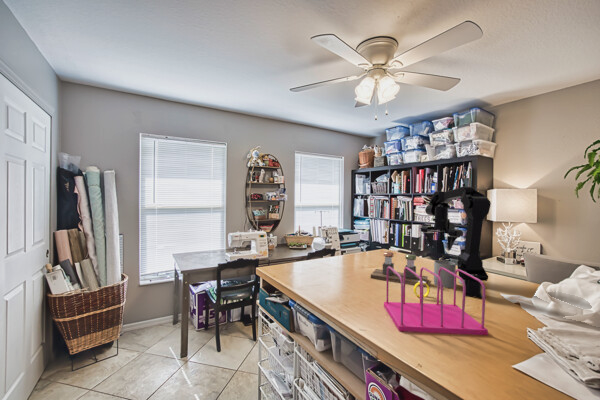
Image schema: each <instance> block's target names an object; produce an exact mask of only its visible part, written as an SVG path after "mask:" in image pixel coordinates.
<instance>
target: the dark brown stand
mask: <svg viewBox="0 0 600 400" xmlns="http://www.w3.org/2000/svg"><path fill="white" fill-rule="evenodd" d="M388 266H390V267H391V268H393V269H394V270H395V268H394V267H395V264H394V263H393V262H392V265H387V264H385V261H384V262H382V269H381V268H379V269H378V268H375V269H374V271H372V273H370V279H373V280H381V281H386V282H387V268H388ZM405 267H407V264H406V265H405V266H404V268H405ZM408 268H409V267H408ZM409 269H411V270H412V271H414V272H415V273H416V274H417V266H416V265H414V268H409ZM396 272H397V273H398V274H399V275H400V276H401V277H402V280H403V277H404V272H401V271H396ZM418 275H419V276H420V274H418ZM418 281H420V279H419V278H418V277H417V276H416V275H414V274H413V273H412V272H410V271H409V270H408V269H406V274H405V285H412V286H415V284H416V283H418ZM422 281H424V282H426V284H427V285H428V276H426V275H422ZM388 282H392V283H393V282H394V283H400V284H401V281H400V278H399V276H398V275H396V274H395V273H394V272H393V271H392V270H391V269H390V268H389V277H388ZM426 284H425V285H423V288H424V287H425V288H427V286H426ZM417 287H420V285H418V286H417Z"/></svg>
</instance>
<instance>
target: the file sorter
mask: <svg viewBox="0 0 600 400" xmlns="http://www.w3.org/2000/svg"><path fill="white" fill-rule="evenodd" d="M389 268H390V269H391V270H392V271H393V272H394V273H395V274H396V275H398V276H399V278H400V281H401V283H400V302H398V301H397V302H396V301H389V281H388V277H389ZM406 269H408V270H409V271H410V272H412V273H413V274H414V275H416V276H417V277H418V278H419V279H420V286H419V295H420V297H419V302H406V284H405V274H406ZM441 269H443V270H445V271H447V272H449V273H450V274H452V275H454V288H453V304H450V303H449V304H445V303H444V287H443V284H442V280H441V278H440V272H441ZM423 270H424V271H426V272H428V273H430V274H431V275H433V276H434V275H435V276H436V277H437V278H438V286H437V291H436V303H428V302H427V303H424V297H423V295H424V287H423V281H422V276H423ZM458 271H460V272H462V273H464V274H466V275H468V276H470V277H472V278H473V279H475V280H477V281H479V282H480V283H481V289H482V295H483V298H482V303H481V305H482V306H481V323H480V322H478V321H477V320H476V319H475V318H474V317H472V316H471V315H470V314H469V313H467V312H466V311H465V307H466V306H465V305H466V295H465V294H466V286H465V283H464V280H463V279H462V278H461V277H459V274H458ZM397 272H398V271H397V270H395V268H394V269H393V268H391V267H390V266H388V268H387V281H386V297H385V299H386V301H383V307H384V309H385V311H386V313H388V316H389V317H390V319H391V321H392V322H393V323H394V325H395V327H396V328H397V330H398V331H399V332H409V333H428V334H429V333H431V334H451V335H452V334H453V335H472V336H473V335H475V336H488V335H489V333H488V332H489V331H488V329H487V328H486V327H485V318H486V317H485V311H486V293H487V292H486V286H485V283H484V281H481V280H480V279H478V278H476V277H474V276H472V275H470V274H468V273H466V272H464V271H462V270H460V269H458V268H456V271H455V274H454V273H453V272H451V271H449V270H447V269H445V268H443V267H441V268H440V269H439V271H438V275H437V274H435V273H434V271H432V270H430V269H428V268H427V267H424V266H423V267H421V268H420V272H419V274H418V273H417V272H416V273H415V272H414V271H412V270H411V269H409V268H408V267H405V266H404V269H403V273H404V277H403V280H402V277H401V276H400V275H399V274H398V273H397ZM457 274H458V275H457ZM419 275H420V276H419ZM457 279H459V280H461V282H462V284H461V285H462V304H461V307H460V306H458V305H457V304H456V302H457V300H456V298H457ZM439 301H440V302H439Z"/></svg>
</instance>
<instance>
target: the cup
mask: <svg viewBox="0 0 600 400" xmlns="http://www.w3.org/2000/svg"><path fill="white" fill-rule="evenodd" d="M433 263H434V264H433V265H434V266H433V273H435V274H437V275H438V271H439V269H440V268H441V267H443V268H445V269H447V270H449V271H451V272H453V273H454V274H455V271H456V270H457V268H456V267H457V264H456V263H455V262H453V261H450V260H441V259H438V260H437V259H436V260H434V262H433ZM440 278H441V280H442V284H443V288H444V289H447V288H448V289H452V288H453V289H454V275H452V274H450V273H449V272H447V271H445V270H443V269H441V272H440ZM433 284H434V286H437V287H438V278H437V277H436V276H435V275H433Z"/></svg>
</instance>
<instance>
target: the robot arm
mask: <svg viewBox="0 0 600 400" xmlns="http://www.w3.org/2000/svg"><path fill="white" fill-rule="evenodd" d="M455 199H460V203H461V204H462V205H463V206H464V212H465V215H466V217H467V227H466V234H465V235H466V237H465V245H464V249H465V251H464V253H463V254H461V253H460V254H458V256H457V262H456V263H457V264H456V267H457V269H460V270H462V271H464V272H466V273H468V274H477V275H472V276H474V277H476V278H478V279H480V280H481V281H482V282H488V279H489V274H488V273H487V271H486V270H485V268H484V264H483V259H482V257H481V255H480V256H479V251H480V248H481V247H480V246H481V240H482V239H481V238H482V232H483V223H484V219H485V218H486V217H487V216H488V215H489V214H490V209H491V200H489V198H488V197H487V196H486V195H485V194H483V193H482V192H480V191H478V190H476V189H475V188H474V187H473V186H461V187H458V188H454V189H450V190H446V191H443V190H440V191H434V192H433V194H432V196H431V198H430V200H429V203H428V205H426V207H425V210H424V211H425V213H426V215H427V216H432V217H434V218H432V220H433V222H434V226H431V225H423V226H421V227H420V232H422V234H423V235H424V236H425V238H426V240H427V242H428V244H429V246H430V247H432V248H433V247H434V235H435V234H436V233H440V234H447V237H446V238H447V249H448V251H451V250H452V248H453V246H454V243H456V240H457V239H458V238H461V237H463V236H464V232H463V230H462V229H456V228H455V227H456V224H454V223H453V222H450V221H451V220H450V219H449V209H450V208H451V206H450V204H449V203H452V201H453V200H455ZM457 274H458V276H459V277H461V278H462V279H463V280H465V286H466V294H465V297H472V298H473V297H474V298H479V299H483V292H482V285H481V283H480V282H479V281H477V280H475V279H473V278H472V277H470V276H468V275H466V274H464V273H462V272H460V271H458V272H457Z"/></svg>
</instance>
